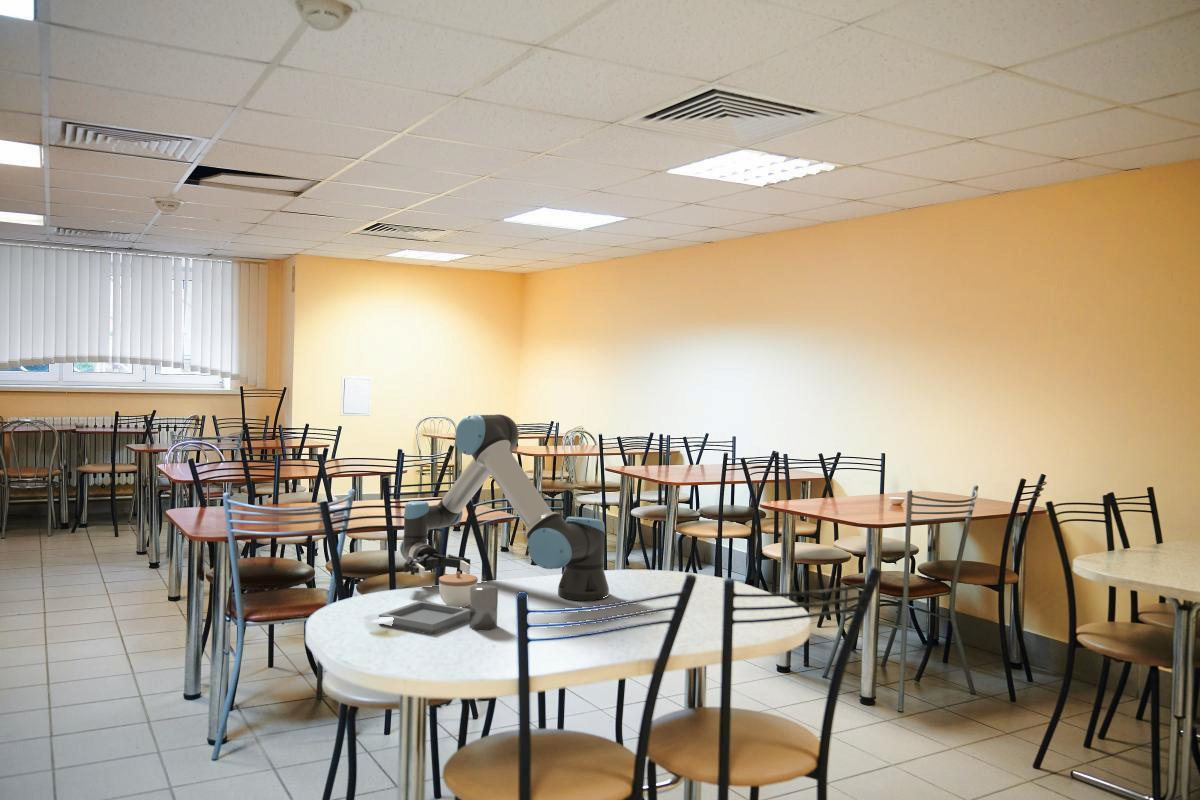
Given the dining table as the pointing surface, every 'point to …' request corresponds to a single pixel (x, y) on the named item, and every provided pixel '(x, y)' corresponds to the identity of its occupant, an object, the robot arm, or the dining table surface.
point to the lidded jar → (456, 589)
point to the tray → (427, 616)
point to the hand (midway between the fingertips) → (446, 571)
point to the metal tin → (483, 607)
